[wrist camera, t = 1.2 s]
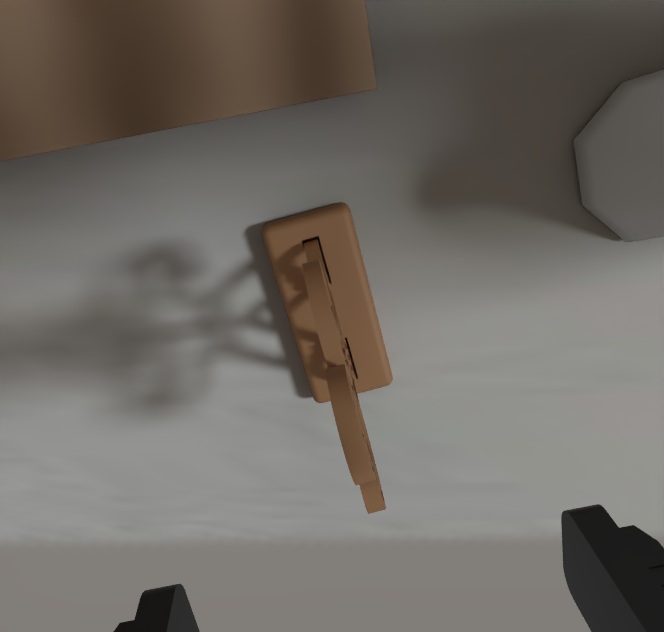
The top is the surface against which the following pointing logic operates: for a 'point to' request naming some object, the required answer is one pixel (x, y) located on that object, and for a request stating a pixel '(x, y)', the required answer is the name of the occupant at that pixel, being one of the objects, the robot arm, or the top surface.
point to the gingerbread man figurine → (333, 324)
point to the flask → (626, 159)
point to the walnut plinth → (167, 64)
